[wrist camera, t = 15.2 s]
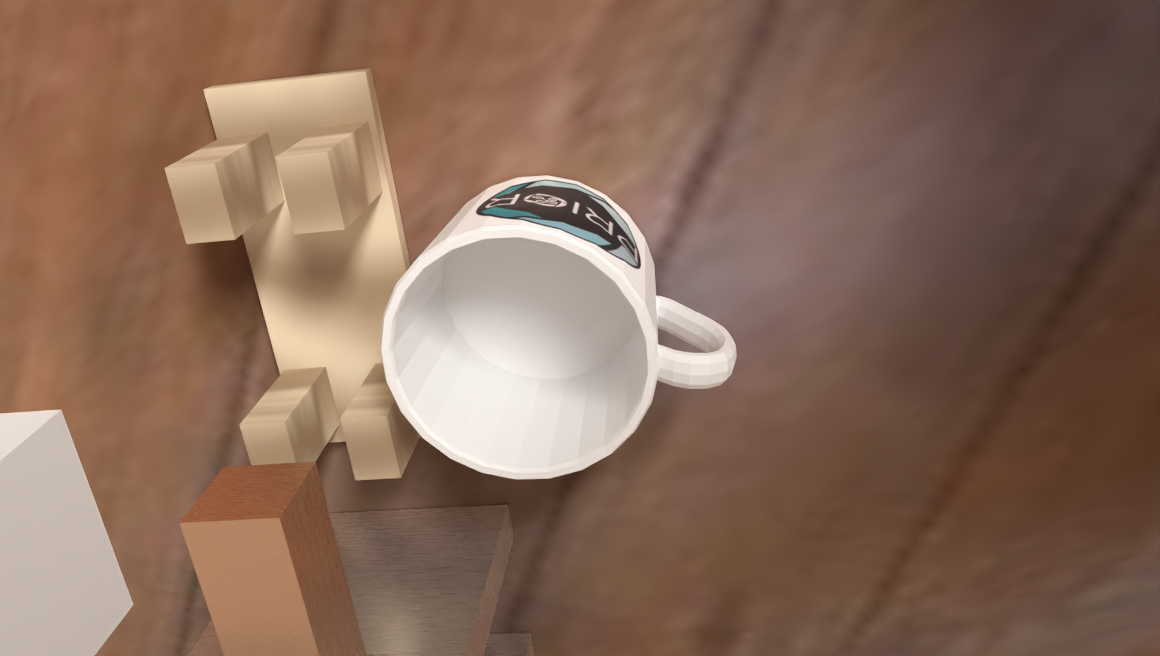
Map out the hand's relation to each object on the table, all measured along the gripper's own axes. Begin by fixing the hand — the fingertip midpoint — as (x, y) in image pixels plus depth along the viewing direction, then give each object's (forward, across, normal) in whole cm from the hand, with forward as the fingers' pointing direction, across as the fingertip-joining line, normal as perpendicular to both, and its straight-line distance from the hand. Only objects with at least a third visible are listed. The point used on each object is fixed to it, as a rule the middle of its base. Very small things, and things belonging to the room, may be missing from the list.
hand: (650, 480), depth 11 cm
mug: (+32, -5, -10) cm, 34 cm away
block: (+20, -16, -24) cm, 35 cm away
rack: (+32, -16, -8) cm, 36 cm away
